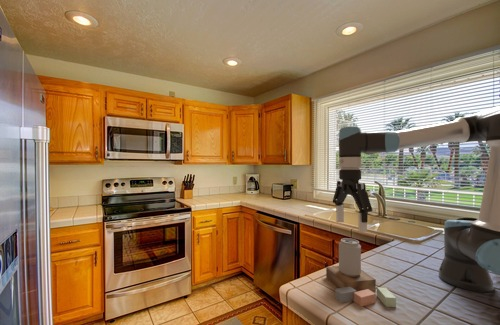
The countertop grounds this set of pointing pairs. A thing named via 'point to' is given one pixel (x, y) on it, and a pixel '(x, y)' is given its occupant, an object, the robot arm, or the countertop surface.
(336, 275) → the walnut block
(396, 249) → the countertop surface
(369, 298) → the brick terracotta
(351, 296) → the brick slate
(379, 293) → the brick sage
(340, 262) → the can
